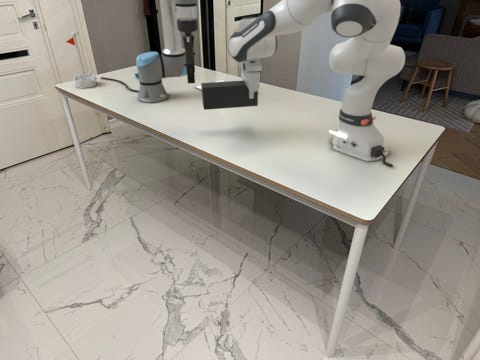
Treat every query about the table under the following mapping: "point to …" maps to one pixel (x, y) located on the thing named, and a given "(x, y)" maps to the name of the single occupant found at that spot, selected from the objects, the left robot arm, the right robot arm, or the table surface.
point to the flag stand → (82, 68)
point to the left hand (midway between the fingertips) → (191, 77)
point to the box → (227, 95)
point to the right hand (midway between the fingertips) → (249, 95)
